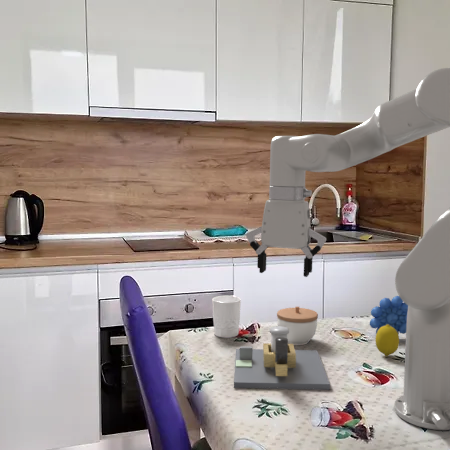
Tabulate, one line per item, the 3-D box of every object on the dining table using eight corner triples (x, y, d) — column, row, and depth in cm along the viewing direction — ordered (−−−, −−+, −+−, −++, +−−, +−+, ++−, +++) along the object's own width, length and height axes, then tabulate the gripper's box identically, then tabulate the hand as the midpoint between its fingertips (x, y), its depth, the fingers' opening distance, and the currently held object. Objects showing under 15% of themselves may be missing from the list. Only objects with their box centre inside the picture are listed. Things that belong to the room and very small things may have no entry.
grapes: (413, 336, 141) (415, 293, 140) (414, 344, 135) (416, 299, 134) (369, 331, 145) (371, 290, 144) (368, 339, 139) (370, 295, 137)
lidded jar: (284, 349, 131) (284, 313, 130) (271, 336, 141) (272, 302, 140) (323, 346, 133) (324, 311, 132) (308, 333, 143) (309, 300, 142)
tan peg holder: (298, 378, 108) (298, 341, 107) (264, 378, 108) (265, 341, 107) (292, 356, 121) (293, 323, 120) (263, 355, 121) (263, 322, 120)
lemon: (380, 350, 130) (381, 319, 129) (401, 355, 127) (403, 324, 126) (371, 356, 126) (372, 325, 125) (393, 362, 122) (394, 329, 122)
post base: (329, 389, 107) (330, 345, 106) (233, 387, 108) (234, 343, 107) (316, 354, 127) (317, 317, 126) (236, 353, 128) (236, 315, 127)
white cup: (243, 330, 146) (243, 296, 145) (237, 339, 138) (237, 303, 137) (216, 328, 148) (216, 294, 147) (209, 337, 140) (209, 301, 139)
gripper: (330, 195, 110) (326, 273, 112) (252, 192, 116) (250, 267, 118) (325, 197, 103) (321, 281, 105) (242, 194, 109) (241, 273, 111)
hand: (284, 273), depth 112 cm, fingers open, 9 cm apart
